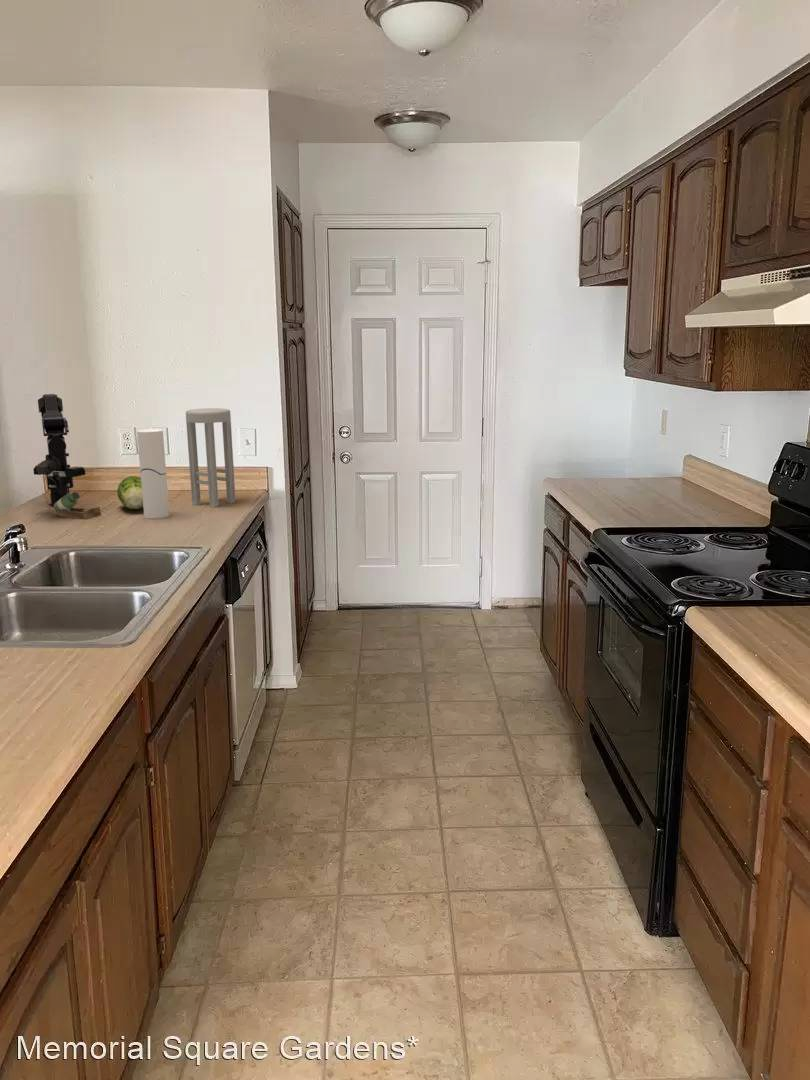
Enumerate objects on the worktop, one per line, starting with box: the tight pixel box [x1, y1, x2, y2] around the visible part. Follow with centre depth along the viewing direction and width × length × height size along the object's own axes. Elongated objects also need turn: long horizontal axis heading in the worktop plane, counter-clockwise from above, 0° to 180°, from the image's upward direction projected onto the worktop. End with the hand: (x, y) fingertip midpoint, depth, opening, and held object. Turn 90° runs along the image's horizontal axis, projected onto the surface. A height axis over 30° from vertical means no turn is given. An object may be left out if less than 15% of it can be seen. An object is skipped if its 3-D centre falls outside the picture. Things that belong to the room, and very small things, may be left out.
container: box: [136, 428, 170, 520], centre depth 291 cm, size 9×9×30 cm
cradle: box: [58, 506, 102, 520], centre depth 295 cm, size 7×12×3 cm, turn 68°
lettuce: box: [116, 475, 143, 510], centre depth 305 cm, size 12×21×11 cm, turn 20°
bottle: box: [53, 491, 80, 514], centre depth 296 cm, size 5×5×10 cm
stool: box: [185, 407, 236, 508], centre depth 311 cm, size 16×16×35 cm
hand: (61, 494), depth 297 cm, fingers closed
